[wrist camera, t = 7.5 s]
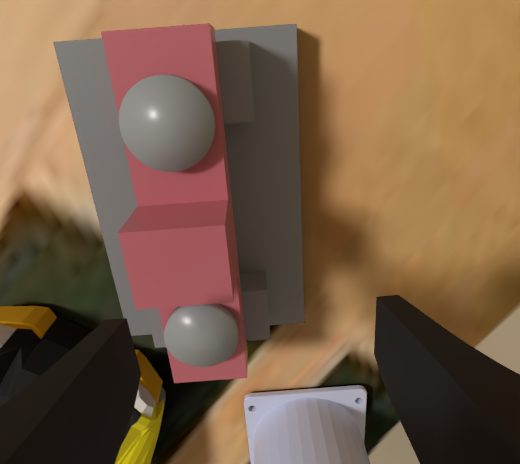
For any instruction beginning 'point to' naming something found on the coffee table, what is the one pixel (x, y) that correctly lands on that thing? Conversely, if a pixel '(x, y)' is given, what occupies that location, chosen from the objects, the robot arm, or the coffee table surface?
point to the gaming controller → (53, 349)
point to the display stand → (239, 162)
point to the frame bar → (180, 196)
